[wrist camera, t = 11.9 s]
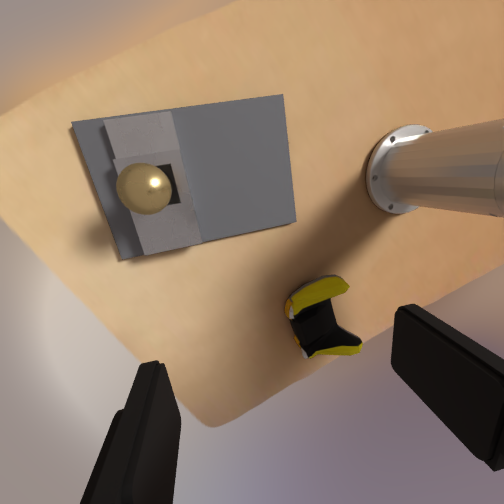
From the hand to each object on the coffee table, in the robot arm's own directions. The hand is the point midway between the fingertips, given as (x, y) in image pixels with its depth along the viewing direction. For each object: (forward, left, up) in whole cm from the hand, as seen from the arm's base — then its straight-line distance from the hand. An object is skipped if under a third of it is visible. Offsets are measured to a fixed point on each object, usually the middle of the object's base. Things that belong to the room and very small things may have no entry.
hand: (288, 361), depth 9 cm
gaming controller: (-12, +18, -26) cm, 34 cm away
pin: (+7, -7, -25) cm, 27 cm away
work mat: (+2, -7, -26) cm, 27 cm away
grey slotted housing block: (+7, -7, -25) cm, 27 cm away
